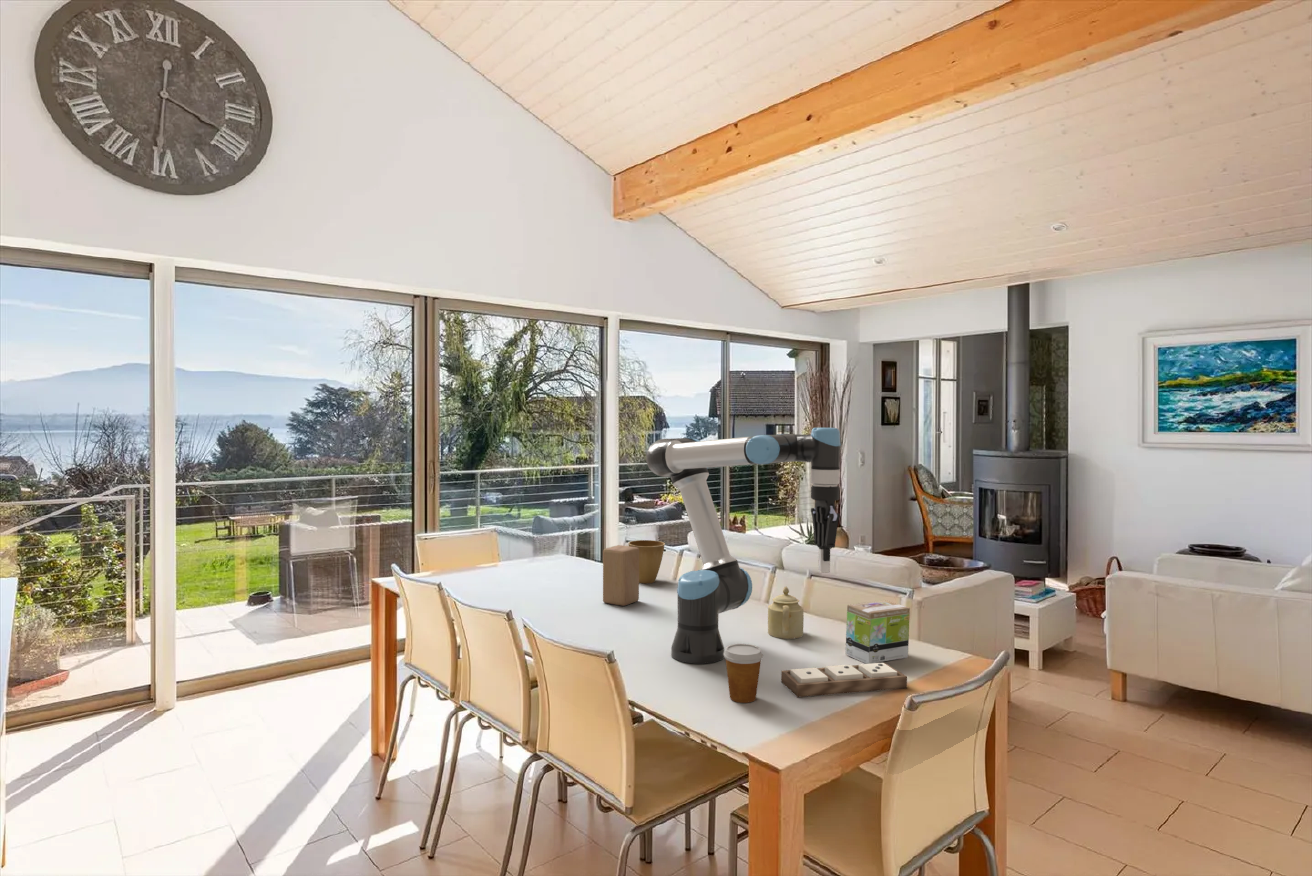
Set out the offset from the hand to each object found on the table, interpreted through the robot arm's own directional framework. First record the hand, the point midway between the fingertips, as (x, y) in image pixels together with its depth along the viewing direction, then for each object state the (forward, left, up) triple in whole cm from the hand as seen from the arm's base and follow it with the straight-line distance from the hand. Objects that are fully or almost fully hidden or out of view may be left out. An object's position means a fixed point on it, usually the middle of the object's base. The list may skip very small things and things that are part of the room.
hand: (824, 572), depth 200 cm
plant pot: (-25, +113, -27) cm, 119 cm away
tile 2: (0, -12, -26) cm, 28 cm away
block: (-41, +82, -27) cm, 95 cm away
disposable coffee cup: (-28, -15, -27) cm, 41 cm away
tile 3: (+9, -12, -26) cm, 30 cm away
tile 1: (-10, -12, -26) cm, 30 cm away
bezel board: (0, -12, -26) cm, 29 cm away
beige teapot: (+3, +31, -27) cm, 41 cm away
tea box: (+20, +7, -27) cm, 34 cm away
